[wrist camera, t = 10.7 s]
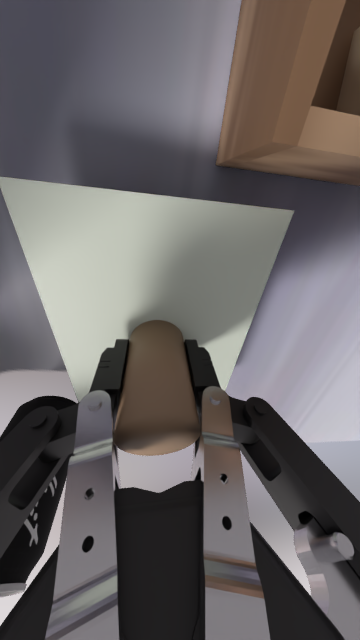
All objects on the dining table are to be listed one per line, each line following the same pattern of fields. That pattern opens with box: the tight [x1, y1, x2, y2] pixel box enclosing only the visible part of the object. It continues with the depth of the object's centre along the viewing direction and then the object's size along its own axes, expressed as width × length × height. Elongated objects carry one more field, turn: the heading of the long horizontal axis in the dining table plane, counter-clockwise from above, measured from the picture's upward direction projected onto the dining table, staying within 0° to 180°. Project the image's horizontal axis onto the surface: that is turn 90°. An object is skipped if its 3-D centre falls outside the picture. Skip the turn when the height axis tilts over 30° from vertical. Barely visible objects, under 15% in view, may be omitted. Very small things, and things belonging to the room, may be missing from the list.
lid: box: [0, 177, 294, 456], centre depth 11 cm, size 13×17×8 cm
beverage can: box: [0, 396, 77, 597], centre depth 16 cm, size 7×7×12 cm
